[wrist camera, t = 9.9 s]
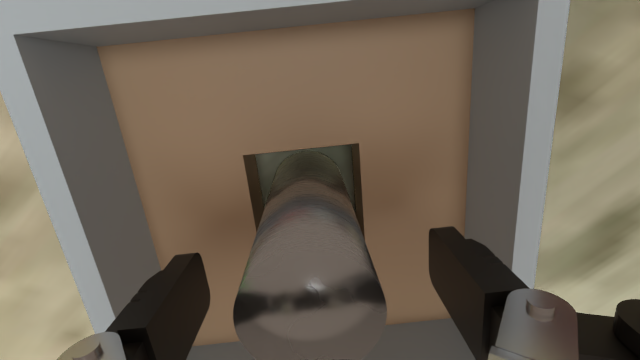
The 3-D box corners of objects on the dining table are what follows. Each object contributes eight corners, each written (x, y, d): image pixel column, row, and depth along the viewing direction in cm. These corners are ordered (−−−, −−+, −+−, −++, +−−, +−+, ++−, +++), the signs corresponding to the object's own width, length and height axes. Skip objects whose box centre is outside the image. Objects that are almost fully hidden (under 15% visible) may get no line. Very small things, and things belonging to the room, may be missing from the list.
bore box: (465, -4, 16) (578, -61, 9) (454, 295, 22) (520, 393, 15) (107, 32, 16) (-35, 0, 9) (188, 324, 21) (135, 435, 15)
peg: (339, 147, 18) (384, 241, 8) (344, 211, 19) (389, 368, 9) (269, 154, 18) (219, 259, 8) (279, 218, 19) (247, 384, 9)
